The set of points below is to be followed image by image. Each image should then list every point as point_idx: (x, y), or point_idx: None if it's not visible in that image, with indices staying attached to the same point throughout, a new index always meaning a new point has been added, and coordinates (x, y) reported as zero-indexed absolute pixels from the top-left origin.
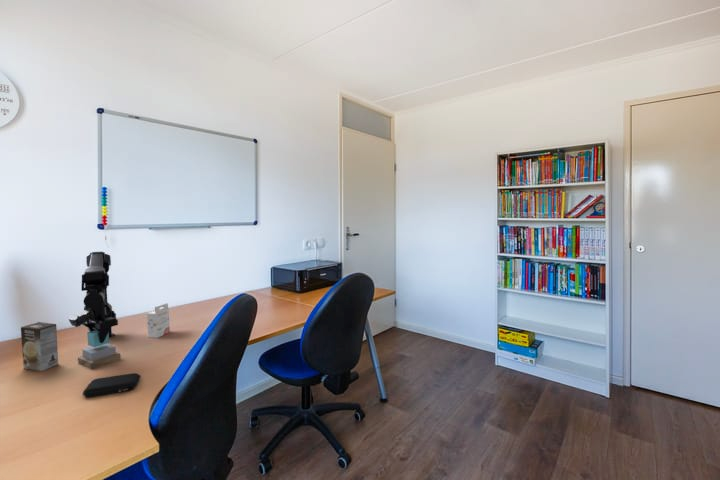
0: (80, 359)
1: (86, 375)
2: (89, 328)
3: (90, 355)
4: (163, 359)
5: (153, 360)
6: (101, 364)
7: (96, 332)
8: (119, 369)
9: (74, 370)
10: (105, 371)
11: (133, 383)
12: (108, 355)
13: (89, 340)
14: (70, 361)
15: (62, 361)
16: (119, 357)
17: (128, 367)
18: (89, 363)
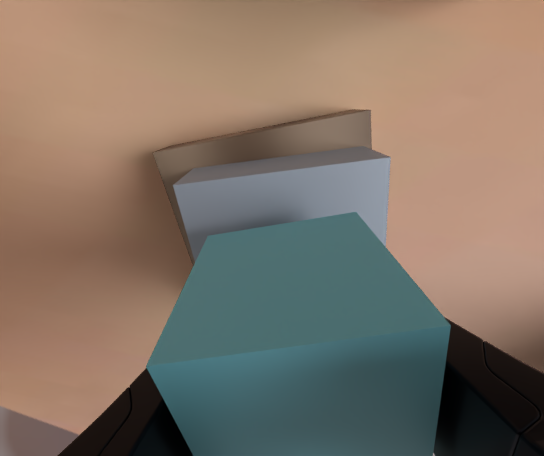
0: (321, 118)
1: (70, 94)
2: (535, 443)
3: (206, 175)
4: (73, 394)
5: (87, 371)
6: None
7: (265, 415)
8: (57, 251)
9: (234, 55)
10: (72, 195)
11: None
12: None
13: (326, 248)
14: (455, 80)
15: (517, 32)
16: None
17: (60, 286)
18: (179, 147)
